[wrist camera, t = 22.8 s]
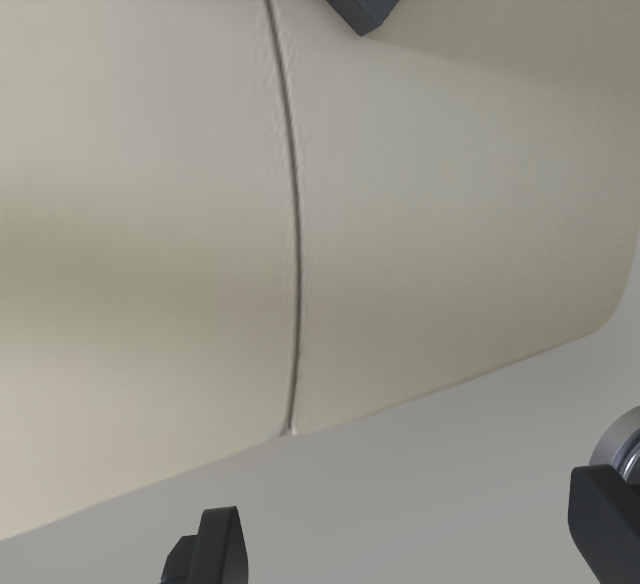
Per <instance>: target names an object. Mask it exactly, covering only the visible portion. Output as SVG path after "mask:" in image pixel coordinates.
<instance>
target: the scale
mask: <svg viewBox="0 0 640 584" xmlns="http://www.w3.org/2000/svg"><path fill="white" fill-rule="evenodd" d="M327 1H328V2H329V4H330V5H331V6H332V7H333V8H334V9H335V10H336V11H337V12H338V13H339V14H340V15H341V16H342V17H343V18H344V19H345V21H346V22H347V23H348V24H349V25H350V26H351V27H352V28H353V29H354V30H355V31H356V32H357V33H358V34H359V35H360V36H363V35H365V34H366V33H368V32H370V31H372V30H374V29H375V28H377V27H379V26H380V25H381V24H382V23H383V21H384V20H385V19H386V17H387V16H388V15H389V13H390V12H391V11H392V9H393V8H394V7H395V5H396V4H397V3H398V1H399V0H327Z"/></svg>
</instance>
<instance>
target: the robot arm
mask: <svg viewBox="0 0 640 584" xmlns="http://www.w3.org/2000/svg"><path fill="white" fill-rule="evenodd" d="M568 524H569V529H570V533H571V536H572V538H573V541H574V542H575V545H576V546H577V548H578V550H579V551H580V553H581V554H582V556H583V557H584V559H585V560H586V562H587V563H588V565H589V567H590V568H591V570H592V571H593V573H594V574H595V576H596V577H597V579H598V580H599V582H600V584H640V441H639V442H638V443H637V444H636V445H635V446H634V447H633V448H632V449H631V450H630V452H629V453H628V455H627V456H626V458H625V459H624V461H623V463H622V465H621V467H620V470H619V472H617V471H616V470H615V469H614V468H613V467H612V466H611V465H609V464H599V465H590V466H582V467H575V468H574V469H573V470H572V473H571V483H570V495H569V507H568ZM160 584H248V558H247V552H246V547H245V542H244V537H243V532H242V528H241V523H240V518H239V514H238V510H237V507H236V506H233V507H223V508H215V509H207V510H204V511H203V514H202V518H201V522H200V526H199V531H198V534H197V535H191V536H183V537H181V539H180V540H179V541H178V543H177V544H176V545H175V547H174V548H173V550H172V551H171V552H170V554H169V555H168V557H167V560H166V563H165V567H164V570H163V573H162V577H161V583H160Z"/></svg>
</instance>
